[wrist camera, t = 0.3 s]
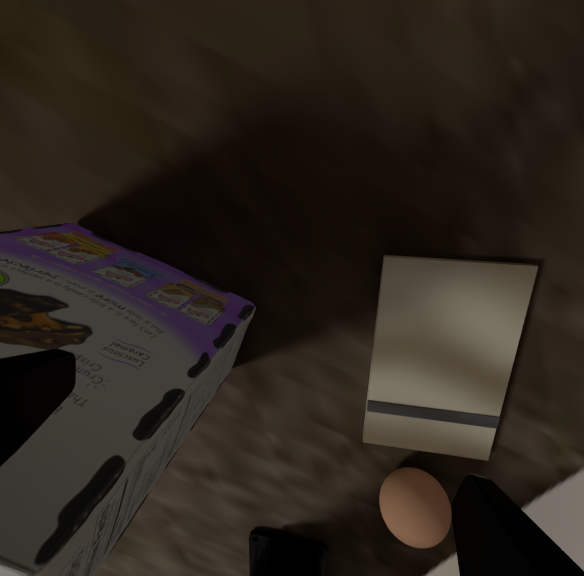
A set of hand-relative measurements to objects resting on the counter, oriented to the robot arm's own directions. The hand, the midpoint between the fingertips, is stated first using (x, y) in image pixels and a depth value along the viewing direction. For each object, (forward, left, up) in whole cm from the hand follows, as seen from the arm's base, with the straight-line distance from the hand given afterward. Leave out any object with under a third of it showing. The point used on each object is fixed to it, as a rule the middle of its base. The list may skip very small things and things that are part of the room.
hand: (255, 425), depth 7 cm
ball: (-15, -7, -14) cm, 21 cm away
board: (-5, -8, -14) cm, 17 cm away
